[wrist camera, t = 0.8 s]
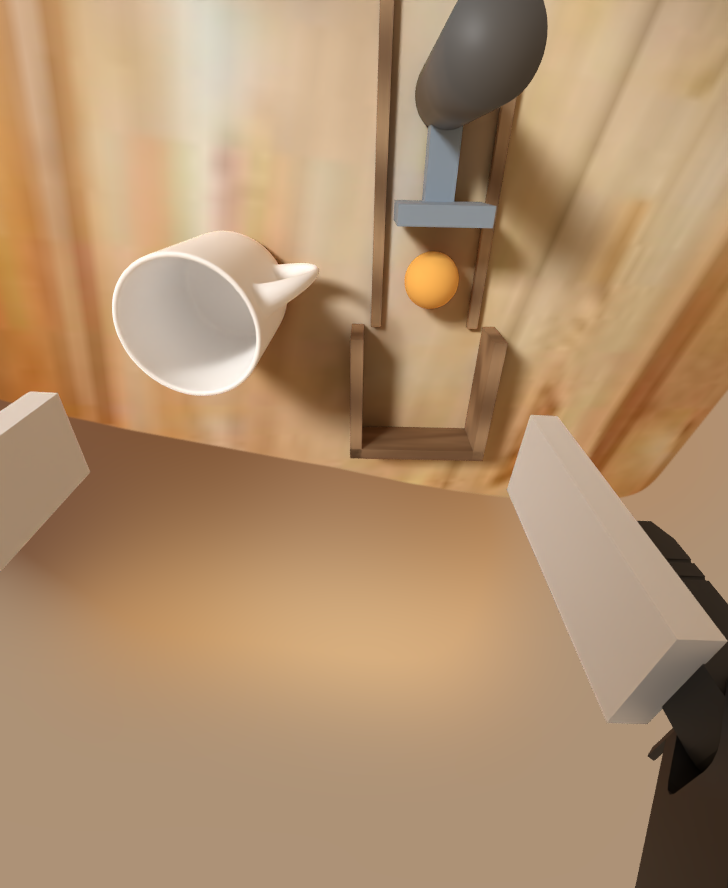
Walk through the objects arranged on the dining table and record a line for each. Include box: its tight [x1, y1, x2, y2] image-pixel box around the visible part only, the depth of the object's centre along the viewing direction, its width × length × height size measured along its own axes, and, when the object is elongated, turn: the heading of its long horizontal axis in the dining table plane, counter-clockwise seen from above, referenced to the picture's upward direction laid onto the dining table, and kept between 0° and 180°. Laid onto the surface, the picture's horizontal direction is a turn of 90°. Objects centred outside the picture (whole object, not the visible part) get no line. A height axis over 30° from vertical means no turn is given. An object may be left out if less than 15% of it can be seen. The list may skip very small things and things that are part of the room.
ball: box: [405, 251, 459, 309], centre depth 31 cm, size 4×4×4 cm
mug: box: [112, 231, 319, 396], centre depth 29 cm, size 9×12×11 cm
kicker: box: [394, 0, 548, 228], centre depth 23 cm, size 9×6×12 cm, turn 179°
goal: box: [350, 324, 508, 461], centre depth 36 cm, size 11×12×4 cm
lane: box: [371, 0, 517, 329], centre depth 29 cm, size 21×9×1 cm, turn 179°
